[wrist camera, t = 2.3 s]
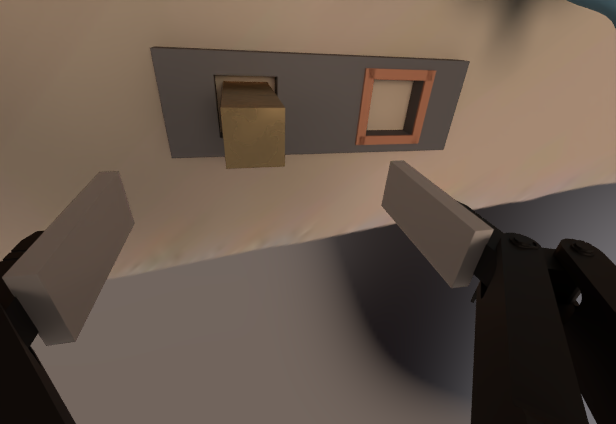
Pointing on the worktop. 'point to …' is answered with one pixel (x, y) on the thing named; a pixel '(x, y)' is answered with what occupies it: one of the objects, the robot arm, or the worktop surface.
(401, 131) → the dark grey flat board
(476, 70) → the worktop surface
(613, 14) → the teakettle
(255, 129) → the wooden peg
